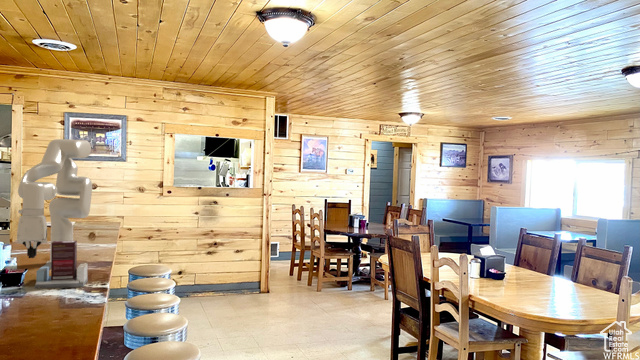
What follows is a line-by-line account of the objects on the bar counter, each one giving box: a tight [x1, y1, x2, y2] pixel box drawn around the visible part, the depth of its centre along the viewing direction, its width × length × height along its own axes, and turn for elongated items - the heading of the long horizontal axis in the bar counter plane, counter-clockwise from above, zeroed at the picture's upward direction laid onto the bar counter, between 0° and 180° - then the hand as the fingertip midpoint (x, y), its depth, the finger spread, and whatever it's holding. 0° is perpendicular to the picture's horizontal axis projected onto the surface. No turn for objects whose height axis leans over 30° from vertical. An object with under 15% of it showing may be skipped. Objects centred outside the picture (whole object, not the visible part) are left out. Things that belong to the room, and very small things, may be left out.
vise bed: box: [34, 263, 89, 289], centre depth 191 cm, size 10×17×8 cm, turn 107°
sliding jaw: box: [35, 262, 51, 283], centre depth 193 cm, size 16×2×5 cm, turn 17°
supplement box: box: [50, 240, 78, 281], centre depth 192 cm, size 9×5×16 cm, turn 107°
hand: (31, 257), depth 195 cm, fingers closed
